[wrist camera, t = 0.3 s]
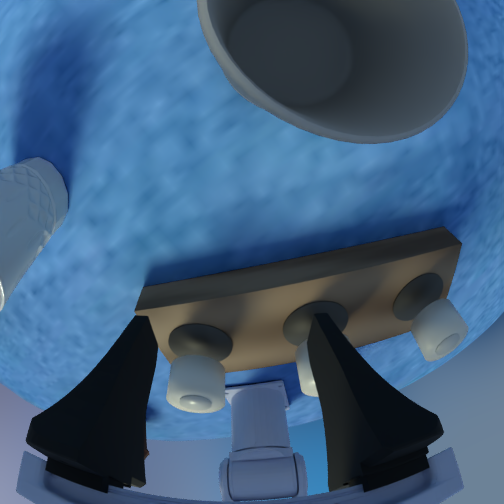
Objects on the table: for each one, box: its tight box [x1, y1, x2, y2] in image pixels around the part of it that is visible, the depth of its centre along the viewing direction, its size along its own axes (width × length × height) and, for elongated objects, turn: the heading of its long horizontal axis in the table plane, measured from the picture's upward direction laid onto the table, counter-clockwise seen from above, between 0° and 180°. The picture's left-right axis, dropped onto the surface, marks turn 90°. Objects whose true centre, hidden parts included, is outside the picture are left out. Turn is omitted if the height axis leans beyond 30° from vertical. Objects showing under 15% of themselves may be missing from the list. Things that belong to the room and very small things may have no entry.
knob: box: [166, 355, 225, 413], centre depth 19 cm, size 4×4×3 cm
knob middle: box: [295, 334, 351, 397], centre depth 18 cm, size 4×4×3 cm
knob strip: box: [135, 227, 462, 373], centre depth 23 cm, size 10×28×3 cm, turn 101°
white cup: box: [0, 157, 68, 311], centre depth 13 cm, size 8×8×10 cm
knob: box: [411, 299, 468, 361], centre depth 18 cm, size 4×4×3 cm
